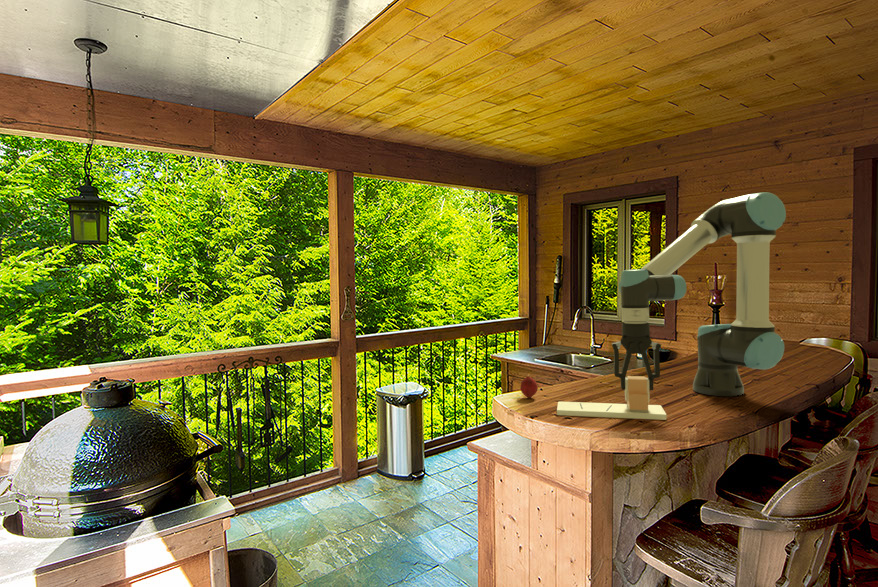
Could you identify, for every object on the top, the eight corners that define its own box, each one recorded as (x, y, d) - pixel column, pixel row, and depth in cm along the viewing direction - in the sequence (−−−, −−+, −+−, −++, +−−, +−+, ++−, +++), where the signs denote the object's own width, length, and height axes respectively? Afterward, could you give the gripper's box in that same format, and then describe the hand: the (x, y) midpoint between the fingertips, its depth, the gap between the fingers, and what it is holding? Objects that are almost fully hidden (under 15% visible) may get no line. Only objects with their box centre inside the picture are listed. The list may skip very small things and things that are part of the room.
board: (660, 410, 146) (660, 405, 146) (666, 419, 137) (666, 414, 137) (558, 406, 155) (558, 401, 155) (556, 415, 145) (556, 410, 145)
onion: (538, 400, 163) (537, 376, 163) (520, 400, 164) (520, 376, 163) (537, 396, 169) (536, 373, 168) (520, 396, 169) (520, 373, 169)
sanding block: (644, 404, 147) (644, 375, 146) (648, 412, 139) (647, 380, 139) (626, 404, 148) (626, 374, 148) (629, 411, 140) (629, 380, 140)
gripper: (603, 323, 142) (605, 402, 142) (671, 323, 137) (673, 405, 137) (602, 321, 149) (604, 396, 150) (666, 320, 144) (668, 398, 145)
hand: (637, 400), depth 143 cm, fingers closed on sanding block, 5 cm apart
